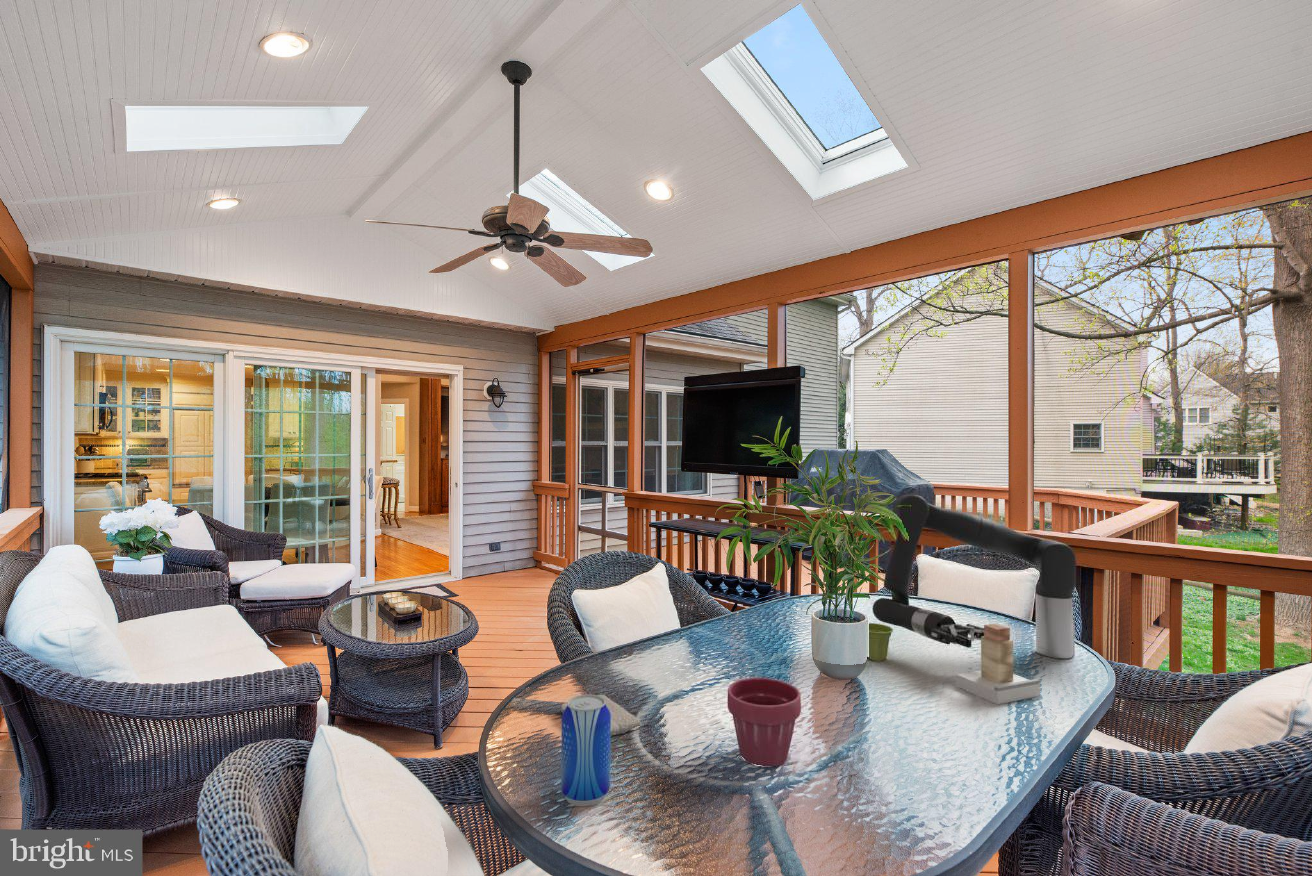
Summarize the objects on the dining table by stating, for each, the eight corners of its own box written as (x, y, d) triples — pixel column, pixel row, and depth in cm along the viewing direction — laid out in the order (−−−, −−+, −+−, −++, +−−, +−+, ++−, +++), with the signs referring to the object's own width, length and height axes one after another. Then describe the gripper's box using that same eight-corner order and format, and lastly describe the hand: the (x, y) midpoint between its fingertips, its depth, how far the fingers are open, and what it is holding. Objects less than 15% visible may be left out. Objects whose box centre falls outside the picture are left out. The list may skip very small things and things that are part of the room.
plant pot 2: (887, 653, 185) (887, 623, 185) (896, 664, 176) (896, 632, 176) (855, 652, 186) (855, 622, 186) (862, 662, 177) (862, 631, 177)
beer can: (562, 783, 112) (563, 693, 112) (609, 781, 112) (610, 691, 113) (559, 810, 103) (560, 712, 104) (610, 808, 104) (611, 711, 104)
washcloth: (601, 703, 149) (602, 690, 149) (643, 731, 134) (643, 716, 134) (556, 715, 142) (556, 701, 142) (594, 745, 127) (594, 730, 127)
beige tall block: (995, 674, 159) (995, 622, 160) (1013, 681, 155) (1013, 628, 155) (981, 676, 158) (980, 624, 158) (998, 683, 153) (998, 630, 153)
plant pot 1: (785, 783, 112) (785, 711, 113) (714, 762, 120) (715, 694, 120) (810, 750, 124) (810, 685, 125) (745, 733, 132) (745, 672, 132)
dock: (996, 679, 164) (996, 664, 164) (1039, 696, 153) (1039, 680, 153) (956, 686, 159) (956, 671, 159) (997, 704, 148) (997, 688, 148)
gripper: (913, 614, 173) (962, 630, 158) (952, 609, 178) (1002, 624, 163) (913, 641, 172) (962, 660, 157) (952, 636, 178) (1003, 653, 163)
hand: (982, 641), depth 160 cm, fingers open, 8 cm apart
